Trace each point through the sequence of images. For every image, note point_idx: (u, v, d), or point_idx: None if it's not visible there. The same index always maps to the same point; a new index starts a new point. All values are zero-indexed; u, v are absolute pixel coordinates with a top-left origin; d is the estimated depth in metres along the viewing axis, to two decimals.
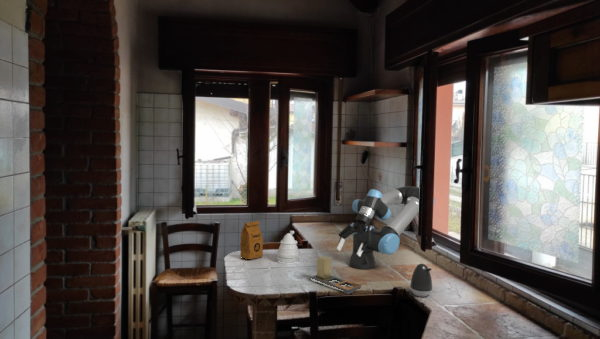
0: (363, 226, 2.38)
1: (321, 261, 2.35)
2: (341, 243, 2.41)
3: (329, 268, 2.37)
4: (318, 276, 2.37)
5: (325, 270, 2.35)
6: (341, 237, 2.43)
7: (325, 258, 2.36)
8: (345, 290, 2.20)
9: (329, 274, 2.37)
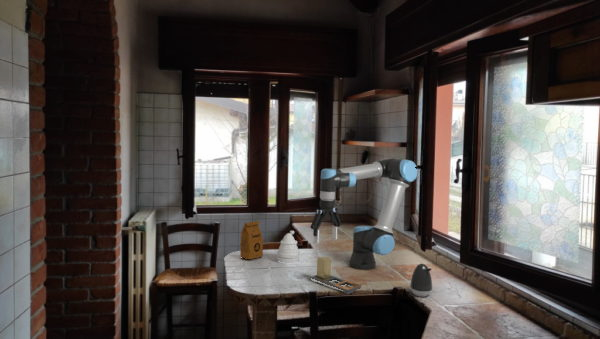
0: None
1: (321, 261, 2.35)
2: (333, 231, 2.40)
3: (329, 268, 2.37)
4: (318, 276, 2.37)
5: (325, 270, 2.35)
6: (334, 225, 2.41)
7: (325, 258, 2.36)
8: (345, 290, 2.20)
9: (329, 274, 2.37)
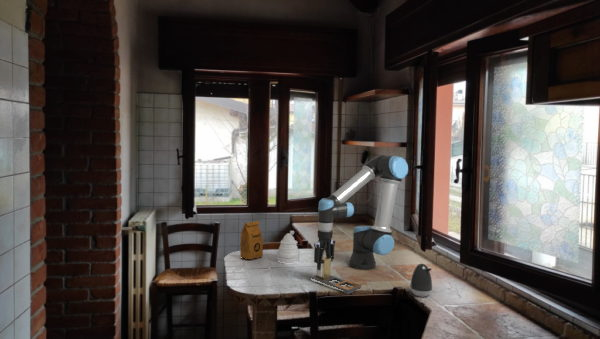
0: None
1: None
2: None
3: (329, 268, 2.37)
4: (318, 276, 2.37)
5: (325, 270, 2.35)
6: None
7: (325, 258, 2.36)
8: (345, 290, 2.20)
9: (329, 274, 2.37)
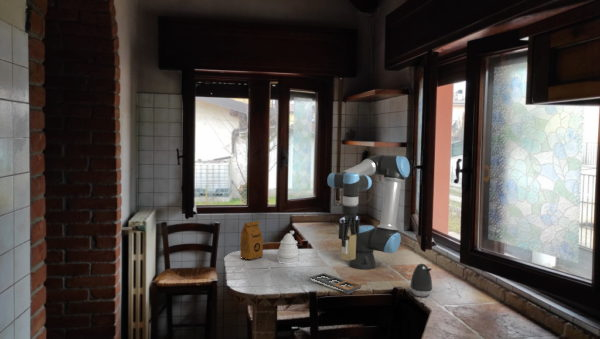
0: None
1: None
2: None
3: (354, 245, 2.24)
4: (342, 253, 2.24)
5: (350, 247, 2.22)
6: None
7: (350, 234, 2.23)
8: (345, 290, 2.20)
9: (354, 251, 2.24)
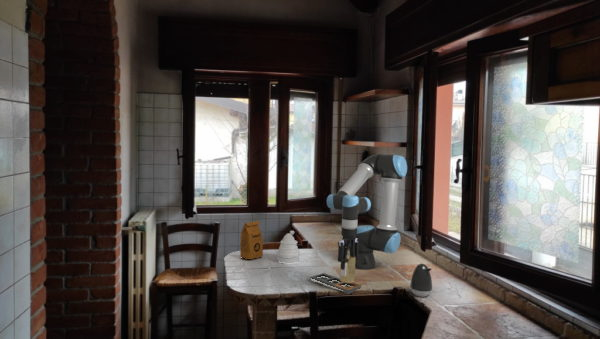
0: None
1: None
2: None
3: (353, 267, 2.24)
4: (342, 276, 2.25)
5: (349, 270, 2.23)
6: None
7: (349, 257, 2.24)
8: (345, 290, 2.20)
9: (353, 274, 2.25)
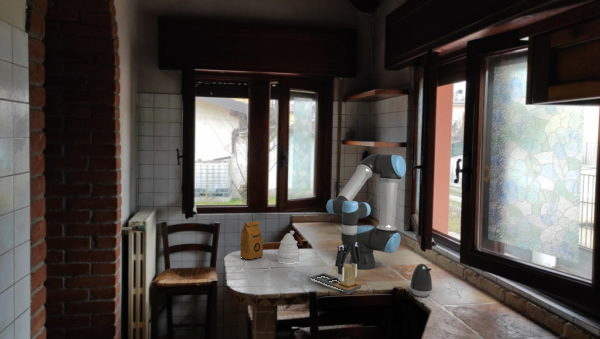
0: None
1: (345, 269, 2.23)
2: None
3: (353, 276, 2.25)
4: (341, 284, 2.25)
5: (349, 278, 2.23)
6: (353, 262, 2.30)
7: (349, 265, 2.25)
8: (345, 290, 2.20)
9: (353, 282, 2.25)
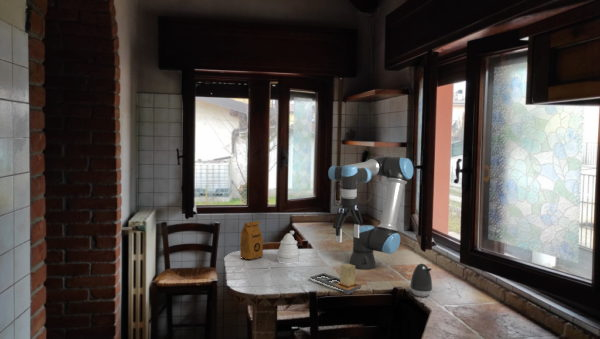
0: None
1: (345, 269, 2.23)
2: (355, 230, 2.33)
3: (353, 276, 2.25)
4: (341, 284, 2.25)
5: (349, 278, 2.23)
6: None
7: (349, 265, 2.25)
8: (345, 290, 2.20)
9: (353, 282, 2.25)
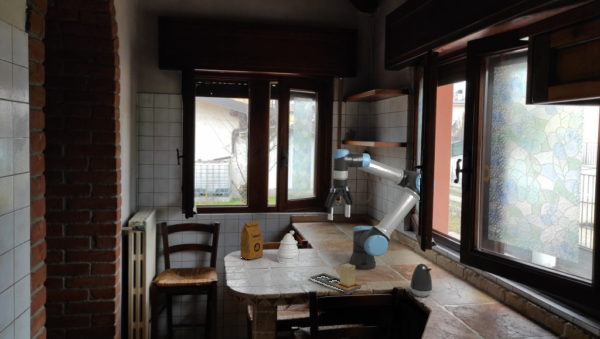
0: None
1: (345, 269, 2.23)
2: (346, 209, 2.50)
3: (353, 276, 2.25)
4: (341, 284, 2.25)
5: (349, 278, 2.23)
6: (347, 204, 2.51)
7: (349, 265, 2.25)
8: (345, 290, 2.20)
9: (353, 282, 2.25)
